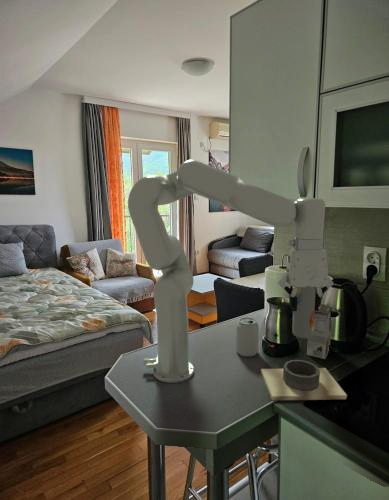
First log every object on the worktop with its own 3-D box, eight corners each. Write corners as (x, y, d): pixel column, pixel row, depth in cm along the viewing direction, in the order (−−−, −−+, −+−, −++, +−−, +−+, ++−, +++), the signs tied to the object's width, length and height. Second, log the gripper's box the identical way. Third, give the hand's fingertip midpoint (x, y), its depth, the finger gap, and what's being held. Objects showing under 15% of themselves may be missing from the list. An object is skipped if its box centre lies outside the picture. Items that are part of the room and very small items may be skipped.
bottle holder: (272, 400, 88) (272, 382, 87) (260, 372, 101) (261, 356, 101) (346, 399, 88) (347, 381, 87) (325, 371, 102) (326, 355, 101)
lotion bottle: (315, 332, 93) (318, 263, 90) (311, 340, 88) (314, 267, 85) (295, 328, 96) (297, 261, 93) (289, 336, 91) (292, 265, 88)
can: (257, 359, 110) (258, 325, 108) (235, 356, 111) (235, 323, 109) (258, 348, 117) (258, 316, 115) (236, 347, 119) (237, 315, 117)
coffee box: (311, 344, 120) (313, 302, 118) (330, 348, 117) (333, 305, 114) (305, 355, 112) (308, 309, 110) (325, 359, 109) (328, 313, 107)
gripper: (279, 247, 84) (277, 314, 87) (346, 246, 84) (341, 313, 87) (272, 242, 92) (270, 305, 95) (333, 242, 92) (329, 304, 95)
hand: (304, 308), depth 91 cm, fingers closed on lotion bottle, 5 cm apart
